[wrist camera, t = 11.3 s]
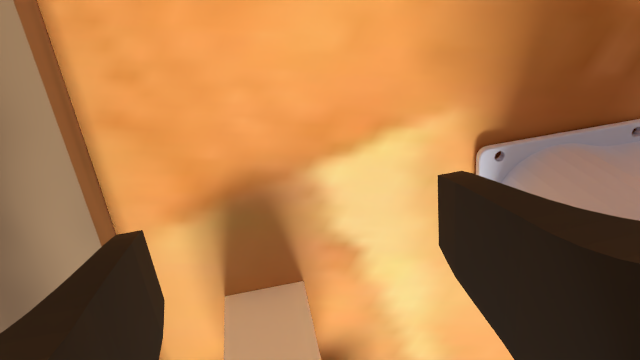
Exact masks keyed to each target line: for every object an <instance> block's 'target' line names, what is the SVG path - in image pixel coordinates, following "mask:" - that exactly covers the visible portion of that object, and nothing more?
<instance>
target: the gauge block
mask: <svg viewBox="0 0 640 360" xmlns="http://www.w3.org/2000/svg"><path fill="white" fill-rule="evenodd" d="M224 360H321V356H320V352H319V347H318V343H317V338H316V334H315V330H314V325H313V321H312V316H311V312H310V307H309V303H308V298H307V294H306V290H305V285H304V281H301V282H296V283H291V284H285V285H280V286H275V287H270V288H265V289H260V290H255V291H250V292H245V293H239V294H234V295H229V296H225V311H224Z"/></svg>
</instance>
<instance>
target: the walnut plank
mask: <svg viewBox="0 0 640 360" xmlns="http://www.w3.org/2000/svg"><path fill="white" fill-rule="evenodd" d="M115 235H116V233H115V230H114V227H113V224H112V221H111V219H110V216H109V213H108V210H107V207H106V204H105V201H104V198H103V195H102V192H101V189H100V186H99V183H98V180H97V177H96V174H95V172H94V169H93V166H92V163H91V160H90V157H89V154H88V151H87V148H86V145H85V142H84V139H83V136H82V133H81V130H80V128H79V125H78V122H77V119H76V116H75V113H74V110H73V107H72V104H71V101H70V98H69V95H68V92H67V89H66V86H65V83H64V81H63V78H62V75H61V72H60V69H59V66H58V63H57V60H56V57H55V54H54V51H53V48H52V45H51V42H50V39H49V37H48V34H47V31H46V28H45V25H44V22H43V19H42V16H41V13H40V10H39V7H38V4H37V1H36V0H0V333H1V332H3V331H4V330H6V329H7V328H8V327H10V326H11V325H12V324H14V323H15V322H16V321H18V320H19V319H20V318H22V317H23V316H24V315H25V314H27V313H28V312H29V311H30V310H32V309H33V308H34V307H35V306H36V305H37V304H39V303H40V302H41V301H42V300H43V299H45V298H46V297H47V296H48V295H49V294H50V293H52V292H53V291H54V290H55V289H56V288H57V287H59V286H60V285H61V284H62V283H63V282H64V281H65V280H66V279H68V278H69V277H70V276H71V275H72V274H73V273H74V272H75V271H76V270H77V269H78V268H79V267H80V266H82V265H83V264H84V263H85V262H86V261H87V260H88V259H89V258H90V257H91V256H92V255H93V254H94V253H95V252H97V251H98V250H99V249H100V248H101V247H102V246H103V245H104V244H105V243H106V242H108V241H109V240H110V239H111V238H113V237H114V236H115Z"/></svg>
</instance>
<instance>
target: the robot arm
mask: <svg viewBox="0 0 640 360" xmlns="http://www.w3.org/2000/svg"><path fill="white" fill-rule="evenodd" d="M634 128H636V130H635V132H634V133H633V134H632V131H633V130H634ZM499 151H501V154H500V156H499V157H498V158H496V159H495V158H494V157H495V154H496V153H497V152H499ZM438 218H439V246H440V248H441V250H442V252H443V254H444V256H445V258H446V260H447V262H448V264H449V266H450V268H451V270H452V272H453V273H454V275H455V277H456V278H457V280H458V281H459V283H460V284H461V285H462V287H463V288H464V290H465V291H466V292H467V294H468V295H469V297H470V298H471V299H472V301H473V302H474V304H475V305H476V306H477V308H478V309H479V310H480V312H481V313H482V314H483V316H484V317H485V319H486V320H487V321H488V323H489V324H490V325H491V327H492V328H493V329H494V331H495V332H496V334H497V335H498V336H499V338H500V339H501V340H502V342H503V343H504V345H505V346H506V348H507V349H508V351H509V352H510V354H511V355H512V357H513V358H514V360H640V119H636V120H631V121H625V122H619V123H614V124H608V125H602V126H597V127H591V128H585V129H579V130H574V131H568V132H562V133H557V134H551V135H545V136H540V137H534V138H528V139H523V140H517V141H511V142H505V143H500V144H494V145H488V146H485V147H482V148H481V149H480V150H479V151H478V153H477V156H476V175H475V174H472V173H468V172H464V171H459V172H453V173H448V174H442V175H438ZM163 325H164V297H163V294H162V291H161V288H160V285H159V281H158V278H157V275H156V272H155V269H154V266H153V262H152V259H151V256H150V253H149V250H148V247H147V243H146V240H145V237H144V234H143V231H142V230H141V231H135V232H130V233H125V234H119V235H115V236H114V237H113V238H111V239H110V240H109V241H108V242H106V243H105V244H104V245H103V246H102V247H101V248H100V249H99V250H98V251H97V252H95V253H94V254H93V255H92V256H91V257H90V258H89V259H88V260H87V261H86V262H85V263H84V264H83V265H82V266H80V267H79V268H78V269H77V270H76V271H75V272H74V273H73V274H72V275H71V276H70V277H69V278H68V279H66V280H65V281H64V282H63V283H62V284H61V285H60V286H59V287H57V288H56V289H55V290H54V291H53V292H52V293H50V294H49V295H48V296H47V297H46V298H45V299H43V300H42V301H41V302H40V303H39V304H37V305H36V306H35V307H34V308H33V309H32V310H30V311H29V312H28V313H27V314H25V315H24V316H23V317H22V318H20V319H19V320H18V321H16V322H15V323H14V324H12V325H11V326H10V327H8V328H7V329H6V330H4V331H3V332H1V333H0V360H159V355H160V350H161V344H162V339H163Z"/></svg>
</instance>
